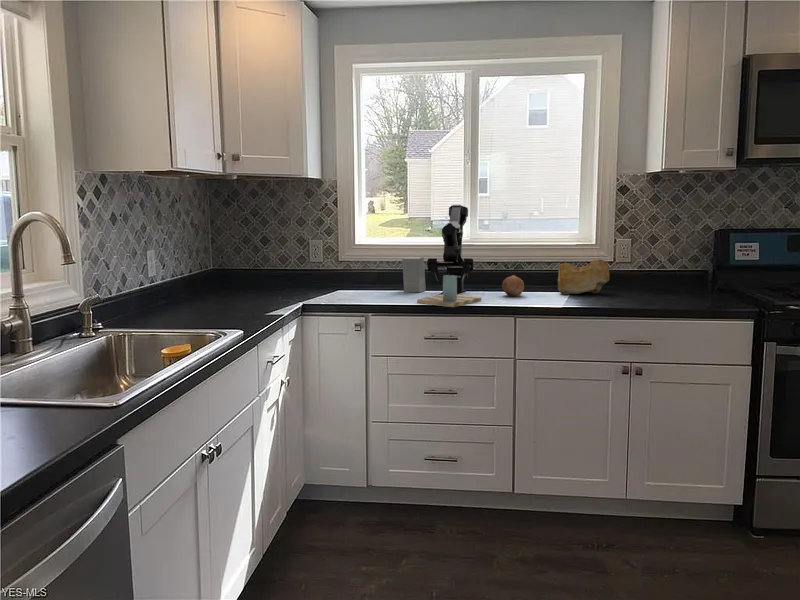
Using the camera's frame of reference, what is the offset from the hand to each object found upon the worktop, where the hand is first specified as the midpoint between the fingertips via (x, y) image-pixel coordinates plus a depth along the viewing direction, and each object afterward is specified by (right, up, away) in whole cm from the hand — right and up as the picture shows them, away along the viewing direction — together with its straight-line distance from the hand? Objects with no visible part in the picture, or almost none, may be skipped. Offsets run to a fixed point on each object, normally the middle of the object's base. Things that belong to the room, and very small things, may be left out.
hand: (449, 281), depth 268 cm
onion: (+29, -6, +23) cm, 38 cm away
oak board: (+1, -8, +9) cm, 12 cm away
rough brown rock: (+61, -4, +32) cm, 68 cm away
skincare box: (-14, -4, +38) cm, 40 cm away
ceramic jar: (0, -8, +3) cm, 8 cm away
